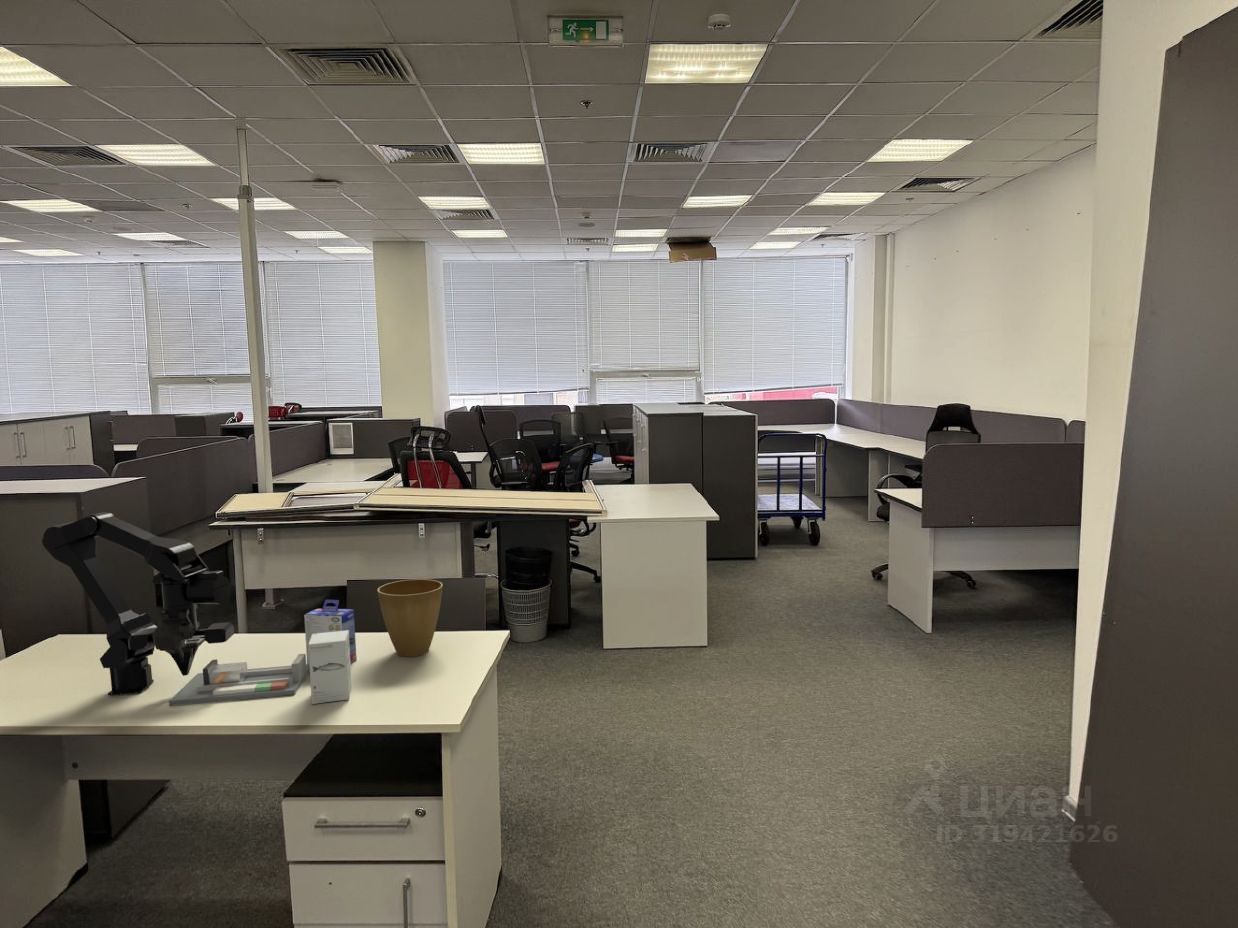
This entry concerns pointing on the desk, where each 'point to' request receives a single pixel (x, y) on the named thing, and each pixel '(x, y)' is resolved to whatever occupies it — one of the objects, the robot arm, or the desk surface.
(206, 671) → the grey block
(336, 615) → the ink cartridge box
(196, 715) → the desk surface
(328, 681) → the supplement box
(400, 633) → the plant pot
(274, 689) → the board
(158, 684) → the desk surface
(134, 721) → the desk surface
